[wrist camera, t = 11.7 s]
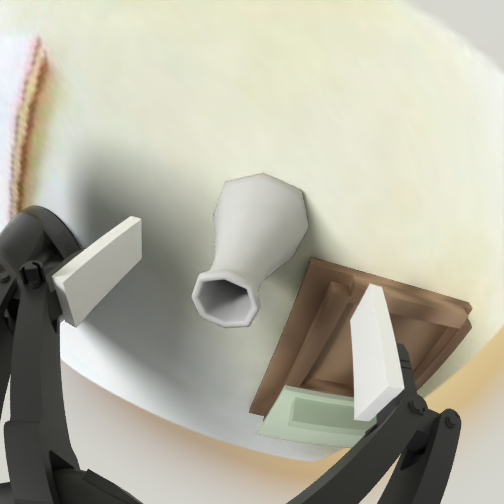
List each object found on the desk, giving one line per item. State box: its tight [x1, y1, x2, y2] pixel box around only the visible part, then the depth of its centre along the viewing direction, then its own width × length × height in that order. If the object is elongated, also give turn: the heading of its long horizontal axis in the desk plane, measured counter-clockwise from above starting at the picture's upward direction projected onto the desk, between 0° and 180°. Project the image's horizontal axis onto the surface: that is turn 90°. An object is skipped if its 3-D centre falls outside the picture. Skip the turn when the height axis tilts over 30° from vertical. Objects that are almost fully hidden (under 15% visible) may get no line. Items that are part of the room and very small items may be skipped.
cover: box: [257, 385, 377, 448], centre depth 28 cm, size 15×14×4 cm
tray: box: [249, 257, 472, 421], centre depth 26 cm, size 17×25×2 cm
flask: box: [191, 173, 309, 328], centre depth 17 cm, size 7×7×10 cm
